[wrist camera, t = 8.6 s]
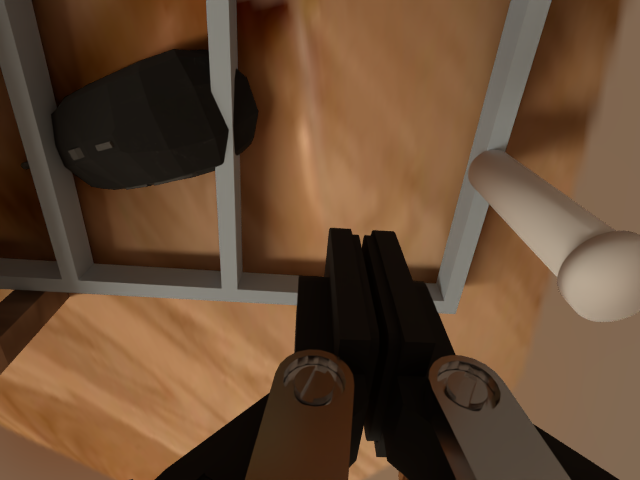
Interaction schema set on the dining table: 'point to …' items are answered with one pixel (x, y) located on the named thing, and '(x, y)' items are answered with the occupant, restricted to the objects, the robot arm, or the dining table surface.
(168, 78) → the gaming mouse
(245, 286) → the gray frame
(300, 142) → the dining table surface
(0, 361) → the tunnel
